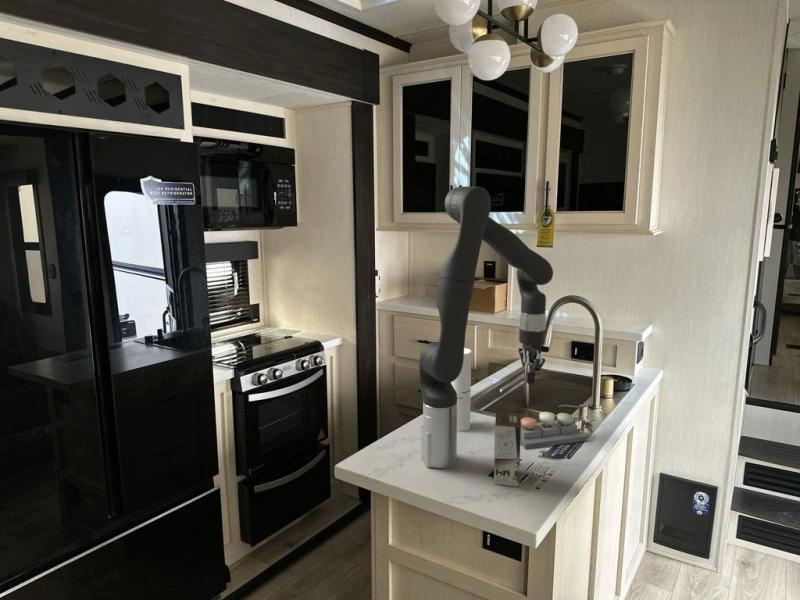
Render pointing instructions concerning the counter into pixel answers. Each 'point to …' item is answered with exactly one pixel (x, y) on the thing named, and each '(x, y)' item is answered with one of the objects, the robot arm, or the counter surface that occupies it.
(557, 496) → the counter surface
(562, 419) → the sage button
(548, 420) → the cream button
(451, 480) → the counter surface
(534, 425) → the terracotta button
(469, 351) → the cylindrical container
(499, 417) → the coffee box
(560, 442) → the console
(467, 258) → the robot arm
